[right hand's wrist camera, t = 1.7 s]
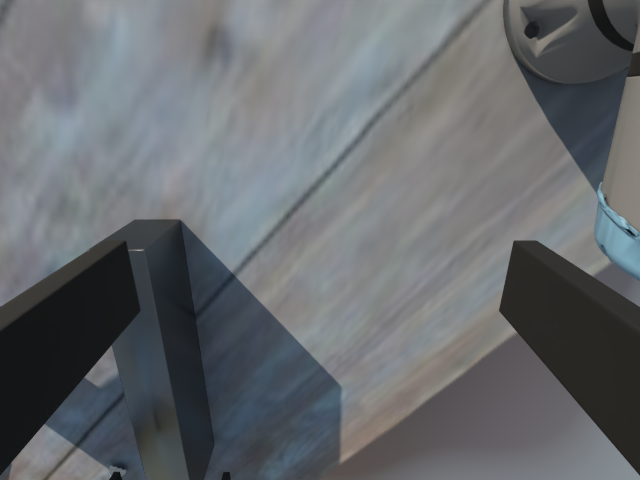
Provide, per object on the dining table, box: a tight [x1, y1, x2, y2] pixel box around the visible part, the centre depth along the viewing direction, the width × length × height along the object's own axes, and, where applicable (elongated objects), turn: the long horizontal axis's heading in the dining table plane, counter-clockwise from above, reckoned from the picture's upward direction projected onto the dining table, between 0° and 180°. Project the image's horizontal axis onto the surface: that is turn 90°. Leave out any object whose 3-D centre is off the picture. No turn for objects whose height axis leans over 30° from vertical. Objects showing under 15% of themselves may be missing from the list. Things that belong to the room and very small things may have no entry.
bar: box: [87, 220, 214, 480], centre depth 43 cm, size 36×5×9 cm, turn 0°
